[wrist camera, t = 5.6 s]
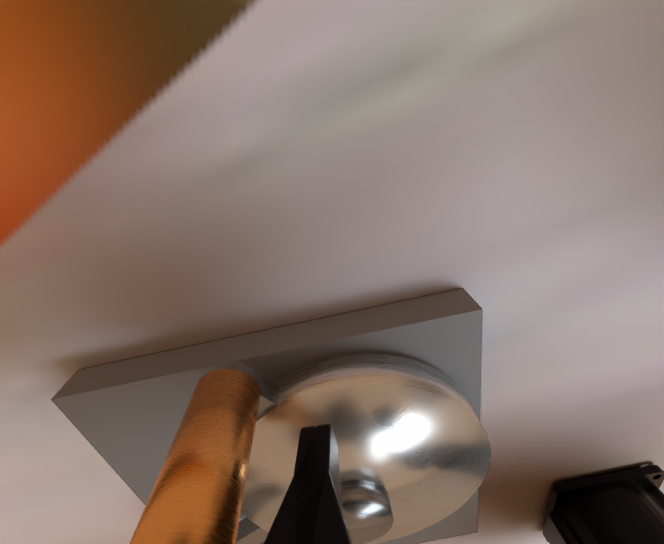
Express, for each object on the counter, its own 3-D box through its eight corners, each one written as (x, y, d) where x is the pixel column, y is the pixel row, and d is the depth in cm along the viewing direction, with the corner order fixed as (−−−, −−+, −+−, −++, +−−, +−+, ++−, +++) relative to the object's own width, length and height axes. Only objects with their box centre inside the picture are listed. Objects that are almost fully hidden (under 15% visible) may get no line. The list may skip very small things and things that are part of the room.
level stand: (463, 288, 12) (488, 315, 11) (466, 503, 19) (481, 540, 18) (78, 370, 13) (42, 408, 11) (220, 550, 20) (212, 590, 18)
